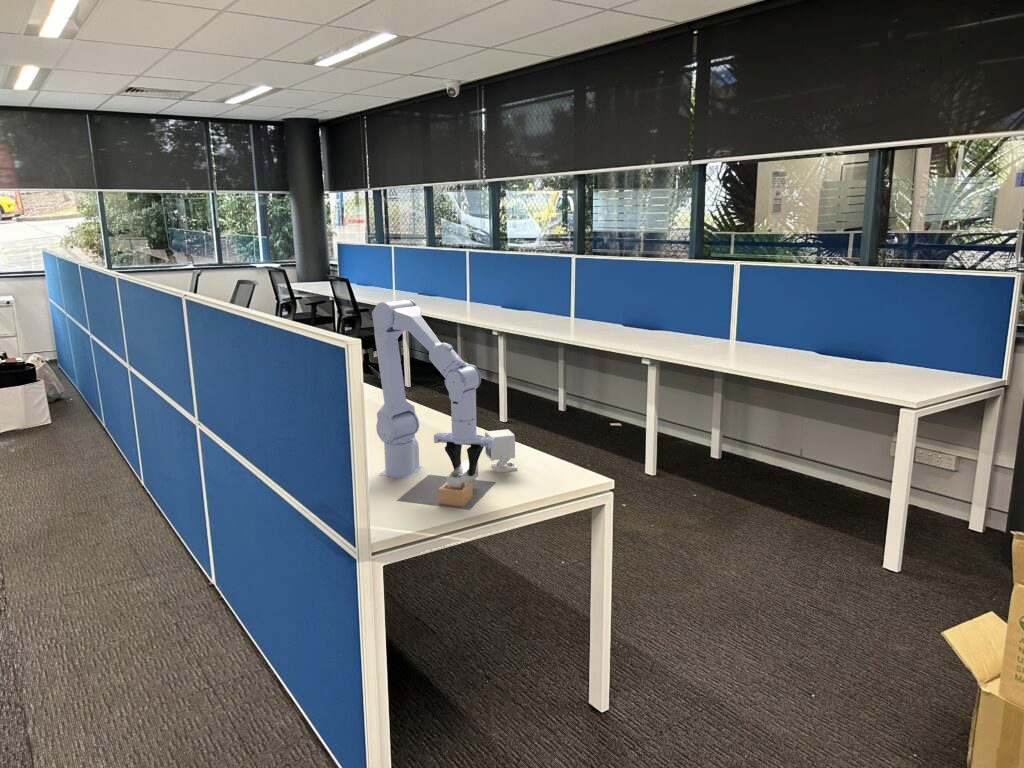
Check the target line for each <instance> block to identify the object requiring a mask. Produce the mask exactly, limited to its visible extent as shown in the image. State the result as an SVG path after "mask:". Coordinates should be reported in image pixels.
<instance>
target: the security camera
mask: <svg viewBox="0 0 1024 768" xmlns="http://www.w3.org/2000/svg"><path fill="white" fill-rule="evenodd" d="M484 436H486V437H491V438H495V446H494V447H493V448H488V447H485V448H484V449H485V451H484V452H485V456H487V458H488V459H489V460H490V461H491V467H492V468H493V469H494V470H495V472H496V473H504V472H507V473H508V472H514V471H518V466H517V465H516V464H515V462H513V461H512V460H511V459H515V458H516V437H515V434H514V433H513V432H512V431H511V430H510V429H508V428H507V429H497V430H488V431H484ZM496 460H497V462H494V461H496Z"/></svg>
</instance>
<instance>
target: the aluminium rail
mask: <svg viewBox="0 0 1024 768" xmlns="http://www.w3.org/2000/svg"><path fill="white" fill-rule="evenodd" d="M478 476H479V461H478V462H477V466H476V471H475V474H474V475H473V476H469V459H468V458H466V459H465V460H463V461H461V464H460V465H459V466H458V467H457V468H456V469H455V470H454V469H453V471H451V472H450V473H449V474H448V475H447V476H446V477H447V489H455V490H462V489H463V488H464V487H465V486H466V485H467V484H468V483H472V482H473V481H474V480H477V478H478Z"/></svg>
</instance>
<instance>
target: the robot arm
mask: <svg viewBox="0 0 1024 768" xmlns="http://www.w3.org/2000/svg"><path fill="white" fill-rule="evenodd" d="M371 315H372V324H373V329H374V339H375V340H374V341H375V348H376V355H377V360H378V368H379V376H380V381H381V388H382V395H383V405H382V406H381V407H380V408H379V409H378V411H376V418H377V419H376V420H377V422H376V427H375V428H376V433H377V437H379V439H380V440H381V442H383V443H384V445H383V447H384V467H385V470H383V471H382V472H380V473H379V474H378V476H380V477H381V476H382V477H392V478H398V479H408V478H410V477H411V476H413V475H414V474H415V473H416V472H418V471H419V470H421V468H423V465H420V448H419V447H420V446H419V442H418V440H417V438H416V434H417V433H418V431H419V429H420V421H419V417H418V415H417V414H416V409H415V406H414V405H413V404H412V403H411V402H409V401H407V397H406V390H405V381H404V376H403V375H404V374H403V369H402V363H401V354H400V347H399V341H398V340H399V337H400V336H401V335H402V334H403V332H404V331H405V332H409V333H410V334H411V335H412V336H413V337H414V339H416V340H417V341H418V342H419V344H421V345H422V346H423V347H424V348H425V350H427V351H428V352H429V354H428V359H429V361H430V362H431V363H432V364H433V366H434V367H435V368H436V369H437V370H438V372H440V374H441V375H442V376H443V378H444V386H445V387H446V389H447V391H448V398H449V400H450V406H451V407H450V409H451V412H450V413H451V415H450V416H451V432H436V433H434V435H433V443H435V444H439V443H441V444H443V443H444V444H446V445H445V447H444V451H445V452H446V454H447V455H448V458H449V459H450V463H451V465H452V467H453V471H454V470H455V469H456V468H457V467H458V466H459V465H460V464H461V463H462V458H461V457H462V447H463V446H462V445H464V446H468V448H466V453H467V459H469V476H473V475H474V474H475V471H476V466H477V462H478V463H479V458H480V456H481V454H482V452H483V449H485V448H484V447H488V448H493V447H494V446H495V438H491V437H486V436H485V435H480V434H477V389H478V388H479V387H480V385H481V382H482V377H481V372H480V371H479V369H478V368H477V366H476V365H474V364H469V363H468V362H465V361H464V360H463V359H462V358H461V357H460V355H459V354H458V353H457V352H456V351H455V349H454V347H453V346H452V344H450V343H447V342H441V341H440V340H439V339H438V336H436V334H435V332H434V331H433V330H432V328H430V326H429V325H428V323H427V322H426V320H424V318H423V317H422V309H421V308H420V307H419V306H418V305H417V303H416V302H415V300H413V299H411V298H406V299H402V300H401V299H400V300H393V301H388V302H387V301H385V302H384V301H382V302H378V303H377V305H376V306H375V307H374V308H373V310H372V311H371Z"/></svg>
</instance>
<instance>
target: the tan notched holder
mask: <svg viewBox="0 0 1024 768" xmlns="http://www.w3.org/2000/svg"><path fill="white" fill-rule="evenodd" d="M438 493H439V504H446V505H454V506H463V507H464V506H465V505H466V504H467V503H468V502H469V501H470V500H471V499H472V498H473V485H472V483H468V484H467V485H466V486H465V487H464V488H463V489H462V490H455V489H447V482H446V483H445V484H444V485H442V486H441V487H440V488H439V489H438Z"/></svg>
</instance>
